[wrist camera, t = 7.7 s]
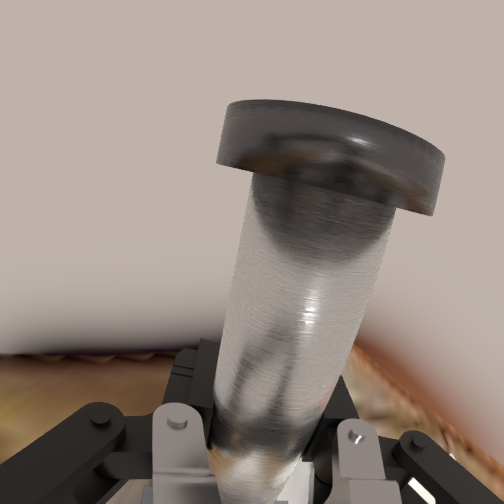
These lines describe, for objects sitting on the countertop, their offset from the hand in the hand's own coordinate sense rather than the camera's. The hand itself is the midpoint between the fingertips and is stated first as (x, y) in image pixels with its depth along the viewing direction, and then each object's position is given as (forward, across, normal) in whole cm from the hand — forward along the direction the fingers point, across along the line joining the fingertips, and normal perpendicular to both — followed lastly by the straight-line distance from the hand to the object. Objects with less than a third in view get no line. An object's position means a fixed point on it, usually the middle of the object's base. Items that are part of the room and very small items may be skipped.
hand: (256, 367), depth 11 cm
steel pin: (-3, 0, +10) cm, 10 cm away
